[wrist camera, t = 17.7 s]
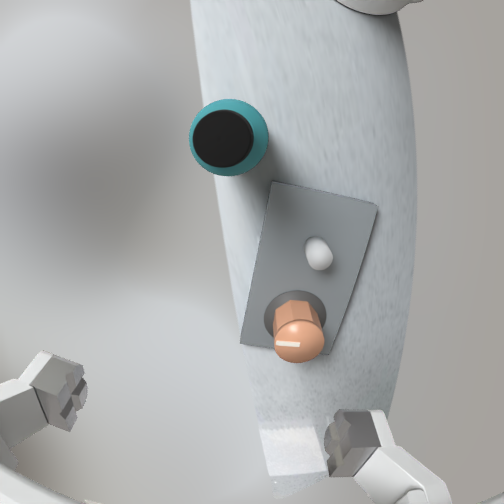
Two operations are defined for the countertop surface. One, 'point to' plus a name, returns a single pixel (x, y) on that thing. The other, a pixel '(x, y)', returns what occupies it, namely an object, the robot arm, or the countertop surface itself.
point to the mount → (306, 258)
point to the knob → (297, 332)
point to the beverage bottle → (228, 137)
